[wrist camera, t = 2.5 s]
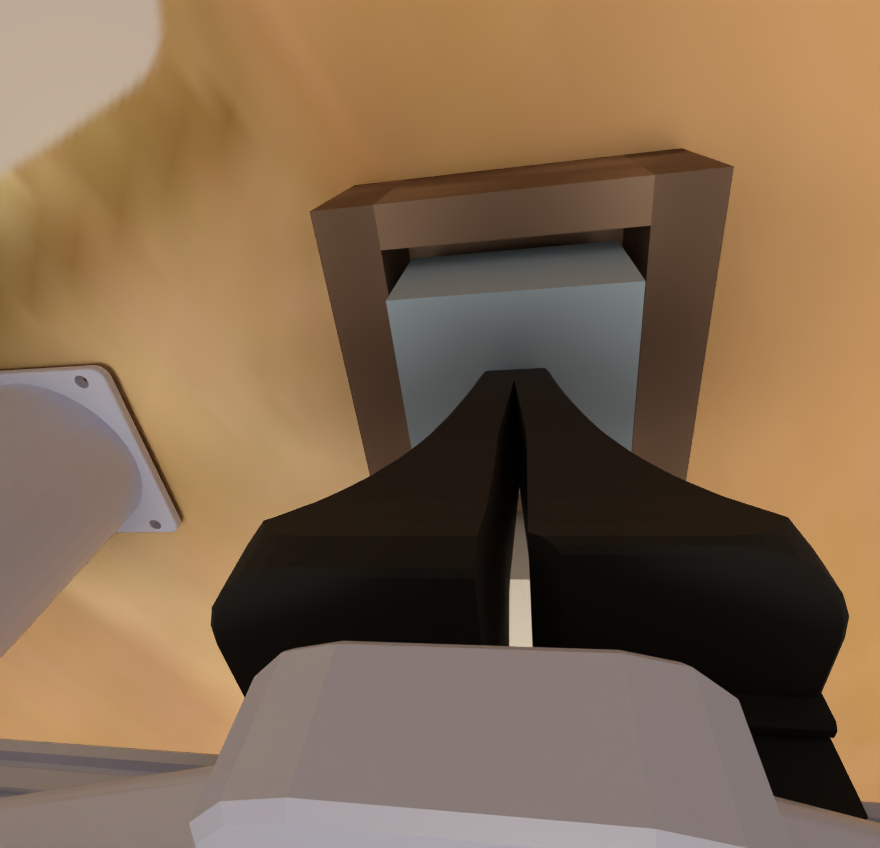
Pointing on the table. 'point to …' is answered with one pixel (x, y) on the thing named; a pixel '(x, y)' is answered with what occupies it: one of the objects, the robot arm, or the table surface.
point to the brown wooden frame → (532, 226)
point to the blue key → (520, 329)
